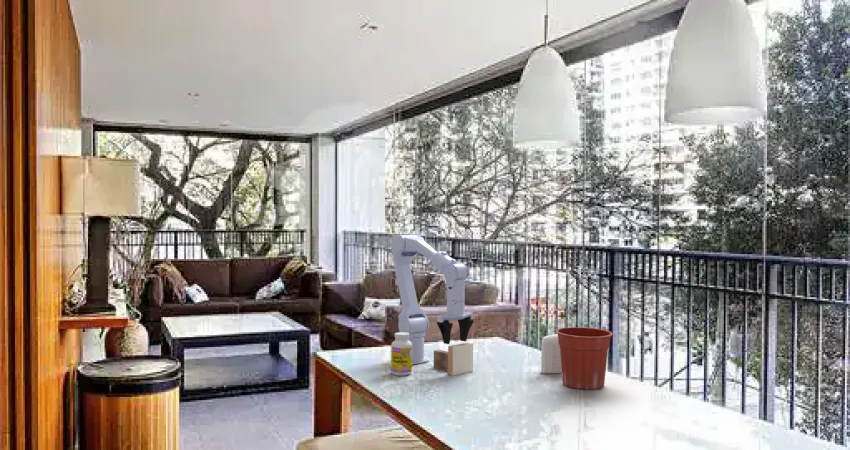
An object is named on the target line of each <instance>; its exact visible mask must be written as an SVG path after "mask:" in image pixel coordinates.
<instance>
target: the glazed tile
mask: <svg viewBox="0 0 850 450" xmlns="http://www.w3.org/2000/svg"><path fill="white" fill-rule="evenodd" d="M447 352H448V371H447V374H448V375H449V374H450V376H457V375H462V373H463V374H467V373H472V372H474V343H471V342H465V343H464V342H463V343H457V344H452V345H448V346H447ZM466 372H467V373H466Z"/></svg>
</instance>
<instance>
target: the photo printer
mask: <svg viewBox="0 0 850 450" xmlns="http://www.w3.org/2000/svg"><path fill="white" fill-rule="evenodd" d="M540 361H541V362H540V372H541V373H542V374H562V366H561V354H560V345H559V342H558V334H557V333H555V334H554V333H553V334H549V335H546V336H543V337H542V338H541V357H540Z"/></svg>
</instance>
